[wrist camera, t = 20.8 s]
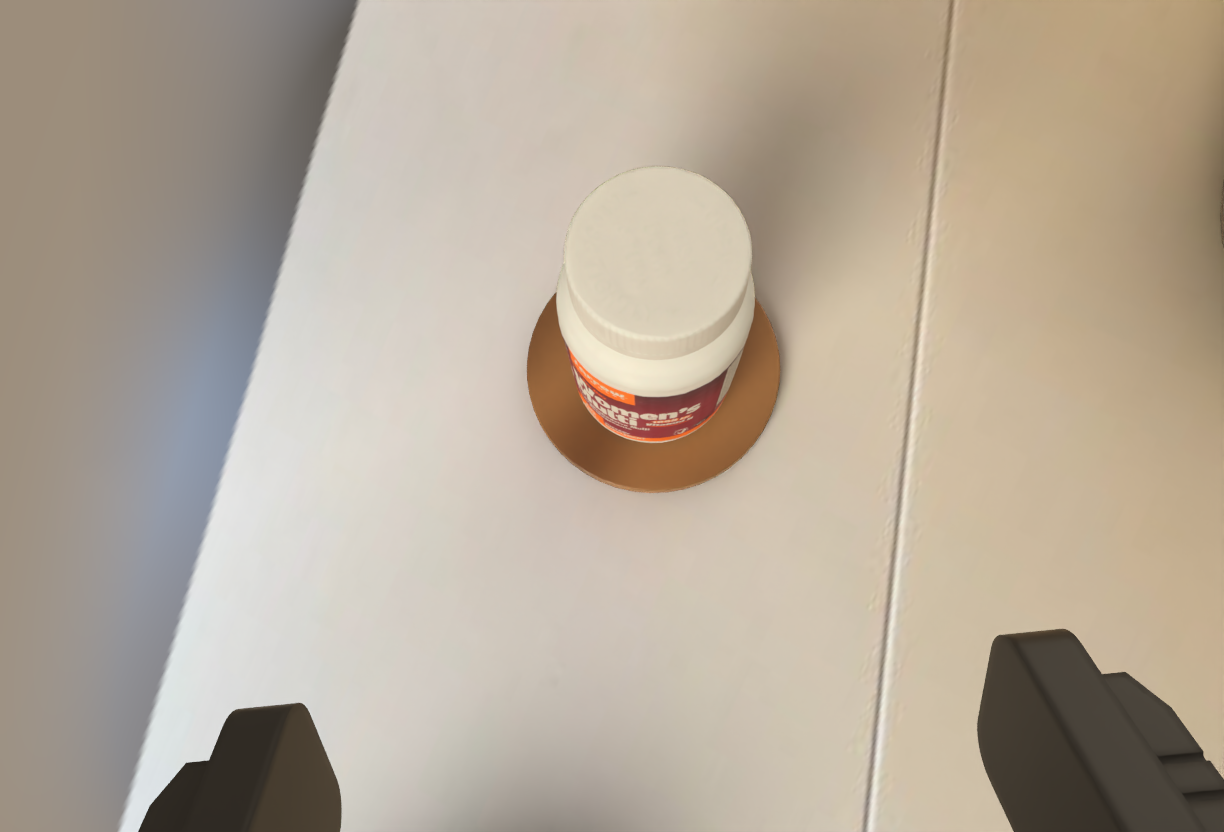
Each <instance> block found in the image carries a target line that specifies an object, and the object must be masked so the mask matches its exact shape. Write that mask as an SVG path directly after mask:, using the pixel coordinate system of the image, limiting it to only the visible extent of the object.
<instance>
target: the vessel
mask: <svg viewBox="0 0 1224 832" xmlns="http://www.w3.org/2000/svg"><path fill="white" fill-rule="evenodd" d="M1221 229H1222V243H1223V247H1224V182H1223V191H1222V206H1221Z"/></svg>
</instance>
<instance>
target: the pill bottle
mask: <svg viewBox="0 0 1224 832" xmlns="http://www.w3.org/2000/svg"><path fill="white" fill-rule="evenodd" d="M751 266H752V241H751V236H750V232H749V229H748V226H747V223H746V221H745V219H744V217H743V215H742V213H741V211H740V210H739V208H738V206H737V205H736V204H735V202H734V201H733V200H732V198H731V197H730V196H729V195H728V194H727V193H726V192H725V191H724V190H722V189H721V188H720V187H719V186H718V185H716V184H715V183H713V182H712V181H710V180H709V179H707V178H705V177H703V176H701V175H699V174H697V173H694V172H691V171H688V170H684V169H680V168H675V167H666V166H650V167H643V168H637V169H633V170H630V171H626V172H624V173H622V174H619V175H616V176H615V177H613V178H611V179H609V180H608V181H606V182H604V183H603V184H602V185H600V186H599V187H597V188H596V189H595V190H594V191H593V192H592V193H591V194H589V195H588V196H587V197H586V199H585V200H584V201H583V203H582V204H581V205H580V206H579V208H578V209H577V211H576V213H575V214H574V216H573V218H572V220H571V223H570V225H569V228H568V231H567V235H566V239H565V245H564V264H563V266H562V269H561V271H560V275H559V279H558V284H557V294H556V305H557V314H558V320H559V327H560V330H561V334H562V337H563V339H564V342H565V346H566V349H567V353H568V356H569V360H570V364H571V368H572V372H573V375H574V379H575V382H576V386H577V389H578V392H579V394H580V397H581V399H582V401H583V403H584V404H585V406H586V407H587V409H588V411H589V412H590V413H591V414H592V416H593V417H594V418H595V419H596V420H597V421H598V422H599V423H600V424H601V425H603V426H604V427H605V428H607V429H608V430H610V431H611V432H613V433H615V434H617V435H619V436H621V437H624V438H626V439H629V440H633V441H638V442H645V443H663V442H668V441H673V440H676V439H679V438H682V437H684V436H687V435H689V434H691V433H693V432H694V431H696V430H697V429H699V428H700V427H702V426H703V425H704V424H705V423H707V422H708V421H709V420H710V419H711V418H712V416H713V415H714V414H715V413H716V412H717V410H718V409H719V407H720V406H721V404H722V402H723V400H724V398H725V397H726V395H727V392H728V390H729V388H730V385H731V382H732V380H733V377H734V374H735V372H736V369H737V367H738V364H739V361H740V358H741V355H742V352H743V349H744V346H745V343H746V340H747V337H748V334H749V331H750V328H751V325H752V322H753V317H754V307H755V290H754V282H753V277H752V273H751Z"/></svg>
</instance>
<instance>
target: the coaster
mask: <svg viewBox="0 0 1224 832" xmlns="http://www.w3.org/2000/svg"><path fill="white" fill-rule="evenodd" d="M556 294H557V292H556V293H555V294H554V296H553V297H552V298H551V299H550V301H549V302H548V303H547V305H546V307H545V308H544V310H543V312H542V314H541V315H540V317H539V319H538V322H537V324H536V326H535V329H534V331H533V334H532V338H531V342H530V346H529V352H528V360H527V381H528V388H529V394H530V398H531V401H532V405H533V408H534V411H535V413H536V416H537V418H538V420H539V422H540V425H541V426H542V428H543V430H544V431H545V433H546V435H547V436H548V438H549V440H550V441H551V442H552V444H553V445H554V446H555V447H556V448H557V450H558V451H559V452H560V453H561V454H562V455H563V456H564V457H565V458H566V459H567V460H568V461H569V462H570V463H572V464H573V465H574V466H575V467H577V468H578V469H580V470H581V471H582V472H584V473H585V474H587V475H589V476H591V477H593V478H595V479H596V480H598V481H600V482H603V483H605V484H608V485H611V486H614V487H616V488H621V489H625V490H629V491H635V492H646V493H660V492H671V491H677V490H683V489H686V488H690V487H693V486H696V485H699V484H702V483H704V482H706V481H708V480H710V479H712V478H715V477H716V476H718V475H719V474H721V473H723V472H724V471H726V470H727V469H729V468H730V467H731V466H733V465H734V464H735V463H736V462H737V461H739V460H740V459H741V458H742V457H743V456H744V455H745V454H746V453H747V452H748V450H749V449H750V448H751V447H752V446H753V445H754V443H755V442H756V440H757V439H758V437H759V436H760V435H761V433H762V432H763V430H764V428H765V426H766V424H767V422H768V420H769V418H770V416H771V414H772V411H773V408H774V405H775V402H776V398H777V393H778V388H779V380H780V359H779V350H778V346H777V341H776V337H775V334H774V331H773V329H772V326H771V323H770V321H769V319H768V317H767V315H766V313H765V311H764V309H763V308H762V306H761V305H760V303H759V302H758V301H757V299H756V298H755V307H754V317H753V322H752V325H751V328H750V331H749V334H748V337H747V340H746V343H745V346H744V349H743V352H742V355H741V358H740V361H739V364H738V367H737V369H736V372H735V374H734V377H733V380H732V382H731V385H730V388H729V390H728V392H727V395H726V397H725V398H724V400H723V402H722V404H721V406H720V407H719V409H718V410H717V412H716V413H715V414H714V415H713V416H712V418H711V419H710V420H709V421H708V422H707V423H705V424H704V425H703V426H702V427H700V428H699V429H697V430H696V431H694V432H693V433H691V434H689V435H687V436H684V437H682V438H679V439H676V440H673V441H668V442H663V443H645V442H638V441H633V440H629V439H626V438H624V437H621V436H619V435H617V434H615V433H613V432H611V431H610V430H608V429H607V428H605V427H604V426H603V425H601V424H600V423H599V422H598V421H597V420H596V419H595V418H594V417H593V416H592V414H591V413H590V412H589V411H588V409H587V407H586V406H585V404H584V403H583V401H582V399H581V397H580V394H579V392H578V389H577V386H576V382H575V379H574V375H573V372H572V368H571V364H570V360H569V356H568V353H567V349H566V346H565V342H564V339H563V337H562V334H561V330H560V327H559V320H558V314H557V305H556Z"/></svg>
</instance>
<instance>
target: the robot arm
mask: <svg viewBox="0 0 1224 832" xmlns="http://www.w3.org/2000/svg"><path fill="white" fill-rule="evenodd" d="M977 732H978V742H979V748H980V753H981V757H982V760H983V764H984V767H985V770H986V773H987V775H988V777H989V780H990V782H991V784H992V786H993V788H994V790H995V793H996V795H997V797H998V799H999V801H1000V803H1001V805H1002V807H1003V810H1004V812H1005V814H1006V816H1007V818H1008V820H1009V822H1010V825H1011V827H1012V829H1013V831H1014V832H1224V779H1223V778H1222V777H1221V775H1220V774H1219V772H1218V771H1217V770H1216V768H1215V767H1214V766H1213V764H1212V763H1211V761H1206V760H1205V758H1204V756H1203V750H1202V749H1201V748H1200V746H1199V745H1198V744H1197V742H1196V741H1195V739H1194V738H1193V737H1192V735H1191V734H1190V733H1189V731H1188V730H1187V728H1186V727H1185V726H1184V724H1183V723H1182V722H1181V720H1180V719H1179V717H1178V716H1177V715H1176V713H1175V712H1174V711H1173V709H1172V708H1171V707H1170V706H1169V705H1167V704H1166V703H1165V702H1163V701H1162V700H1161V699H1160V698H1158V697H1157V696H1156V695H1154V694H1153V693H1152V692H1151V691H1149V690H1148V689H1147V688H1145V687H1144V686H1143V685H1141V684H1140V683H1139V682H1138V681H1136V680H1135V679H1134V678H1132V677H1131V676H1130V675H1129V674H1127V673H1126V672H1121V673H1111V674H1101V672H1100V671H1099V669H1098V668H1097V666H1096V665H1095V663H1094V662H1093V660H1092V659H1091V657H1090V656H1089V654H1088V653H1087V651H1086V650H1085V648H1084V647H1083V645H1082V644H1081V643H1080V641H1079V640H1078V639H1077V637H1076V636H1075V635H1074V634H1073V633H1071V632H1070V631H1068V630H1066V629H1056V630H1046V631H1036V632H1026V633H1016V634H1007V635H999V636H997V637H996V638H995V639H994V641H993V643H992V647H991V652H990V657H989V663H988V668H987V673H986V679H985V684H984V689H983V695H982V700H981V705H980V711H979V716H978V723H977ZM340 828H341V795H340V789H339V785H338V781H337V779H336V776H335V774H334V771H333V769H332V766H331V764H330V762H329V759H328V757H327V754H326V752H325V749H324V747H323V745H322V742H321V740H320V737H319V735H318V732H317V730H316V728H315V725H314V723H313V720H312V718H311V715H310V713H309V711H308V709H307V708H306V706H305V705H303V704H302V703H294V704H284V705H274V706H264V707H254V708H244V709H237V710H235V711H233V712H232V713H231V714H230V715H229V716H228V718H227V719H226V721H225V723H224V725H223V727H222V730H221V732H220V735H219V737H218V740H217V742H216V745H215V747H214V750H213V752H212V755H211V757H210V760H209V761H200V762H190V763H186V764H185V765H184V766H183V767H182V769H181V770H180V771H179V772H178V773H177V775H176V776H175V777H174V778H173V779H172V780H171V782H170V783H169V784H168V785H167V786H166V787H165V789H164V790H163V791H162V792H161V793H160V795H159V796H158V797H157V798H156V799H155V800H154V802H153V803H152V804H151V805H150V807H149V809H148V811H147V813H146V816H145V818H144V820H143V822H142V824H141V827H140V829H139V831H138V832H340Z"/></svg>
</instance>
